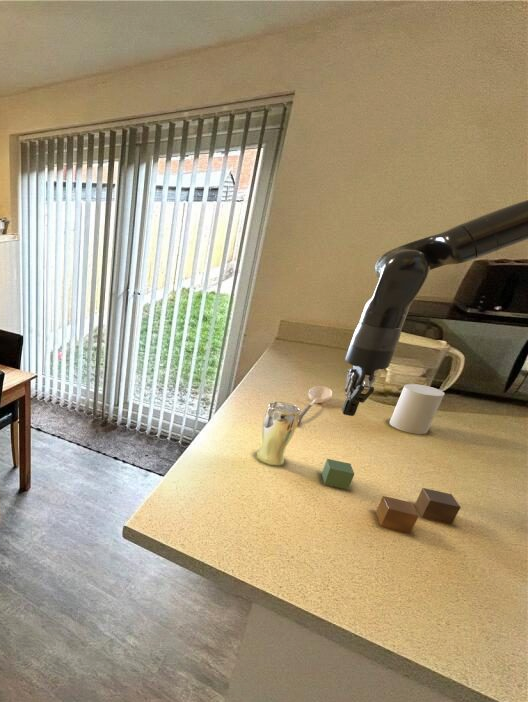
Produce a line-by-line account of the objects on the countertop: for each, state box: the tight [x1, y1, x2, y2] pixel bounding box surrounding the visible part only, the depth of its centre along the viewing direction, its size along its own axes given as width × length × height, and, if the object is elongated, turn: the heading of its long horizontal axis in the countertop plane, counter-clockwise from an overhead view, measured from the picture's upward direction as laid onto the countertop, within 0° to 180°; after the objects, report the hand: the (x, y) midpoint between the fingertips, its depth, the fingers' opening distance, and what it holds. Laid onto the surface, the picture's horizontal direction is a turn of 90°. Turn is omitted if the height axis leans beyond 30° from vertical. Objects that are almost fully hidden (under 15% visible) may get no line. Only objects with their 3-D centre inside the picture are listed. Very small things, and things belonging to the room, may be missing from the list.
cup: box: [389, 383, 445, 435], centre depth 112 cm, size 8×8×12 cm
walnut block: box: [414, 487, 462, 525], centre depth 81 cm, size 4×4×4 cm
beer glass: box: [256, 401, 301, 466], centre depth 98 cm, size 7×7×15 cm
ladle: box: [297, 385, 333, 426], centre depth 125 cm, size 6×28×5 cm, turn 131°
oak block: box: [375, 495, 419, 534], centre depth 79 cm, size 4×4×4 cm
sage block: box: [321, 458, 355, 491], centre depth 91 cm, size 4×4×4 cm
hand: (347, 413), depth 93 cm, fingers closed
